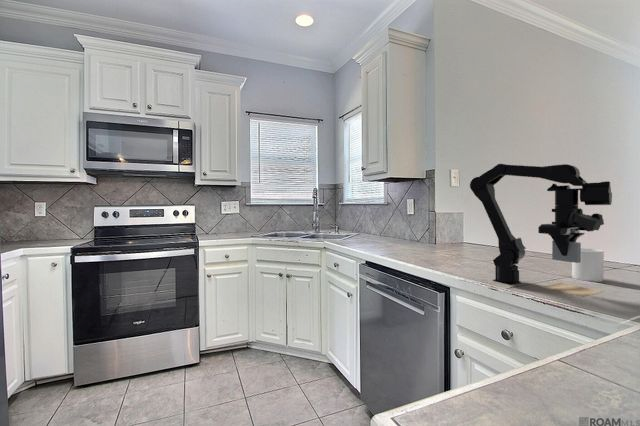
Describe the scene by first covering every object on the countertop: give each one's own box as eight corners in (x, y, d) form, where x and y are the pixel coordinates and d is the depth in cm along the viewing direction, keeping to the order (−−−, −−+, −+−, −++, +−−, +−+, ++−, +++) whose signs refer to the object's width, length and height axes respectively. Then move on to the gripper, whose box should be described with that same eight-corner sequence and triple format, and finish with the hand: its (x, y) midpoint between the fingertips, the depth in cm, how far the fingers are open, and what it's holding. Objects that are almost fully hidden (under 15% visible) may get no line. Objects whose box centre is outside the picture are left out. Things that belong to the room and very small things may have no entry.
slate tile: (552, 259, 102) (552, 240, 101) (555, 258, 102) (555, 240, 102) (577, 262, 95) (577, 243, 95) (580, 262, 96) (580, 242, 96)
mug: (594, 275, 118) (594, 247, 118) (607, 283, 107) (608, 252, 107) (566, 274, 122) (566, 246, 121) (576, 281, 111) (576, 251, 111)
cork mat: (540, 288, 104) (540, 287, 104) (560, 283, 108) (560, 282, 108) (583, 298, 93) (583, 296, 93) (603, 292, 97) (603, 291, 97)
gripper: (579, 206, 87) (579, 262, 87) (615, 204, 95) (614, 256, 95) (537, 206, 97) (537, 256, 98) (572, 204, 105) (572, 251, 105)
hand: (566, 255), depth 99 cm, fingers closed on slate tile, 2 cm apart
